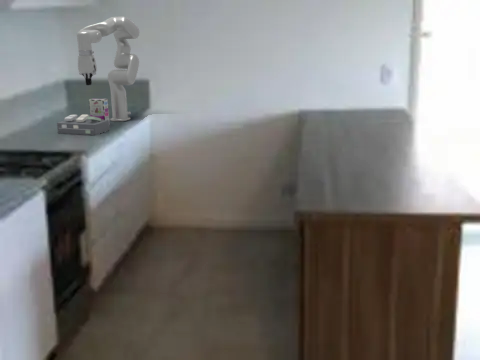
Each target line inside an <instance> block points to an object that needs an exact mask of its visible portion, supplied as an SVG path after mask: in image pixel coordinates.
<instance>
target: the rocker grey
mask: <svg viewBox="0 0 480 360" xmlns="http://www.w3.org/2000/svg"><path fill="white" fill-rule="evenodd" d="M78 117H79V116H78V114H70V115H68V116H65V117H64V120H63V121H72V120H74V119H77V118H78Z"/></svg>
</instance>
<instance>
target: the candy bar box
mask: <svg viewBox="0 0 480 360" xmlns="http://www.w3.org/2000/svg"><path fill="white" fill-rule="evenodd" d="M88 104H89V105H88V106H89V116H93V117H98V118H101V120H109V127H110V126H111V123H110V122H111V120H110V112H109V111H110V108H109V107H110V106H109V99H108V98H90V99H88Z"/></svg>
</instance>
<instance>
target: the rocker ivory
mask: <svg viewBox="0 0 480 360" xmlns="http://www.w3.org/2000/svg"><path fill="white" fill-rule="evenodd" d="M88 116H90V114H86V113H85V114H81V115H79V116H78V118H76V122H84V121H85V120H86V119H87V118H88ZM87 120H88V119H87Z"/></svg>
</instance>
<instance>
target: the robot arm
mask: <svg viewBox="0 0 480 360" xmlns="http://www.w3.org/2000/svg"><path fill="white" fill-rule="evenodd" d="M111 34H113V36H114V39H115V41H116V52H115V56H114V60H113V66H114V68H115V69H112V70H110V71H109V72H108V73H107V80H108V85H109V89H110V100H111V112H112V117H109V120H110V122H125V121H130V120H131V117H130V116H129V115H131V111H128V101H127V100H128V99H127V91H126V88H125V87H124V86H132V85H134V83H136V79H137V74H138V71H139V67H140V60H139V59H140V58H139V57H138V55H137V54H134V53H131V49H132V47H131V45H130V43H129V42H128V40H136V39H138V37H139V36H140V29H139V26H138V25H136V23H135V22H134V21H132V19H130V18H128V17H127V16H111V17H109V18H107V19H105V20H103V21H102V22H98V23H94V24H91V25H87V26H85V27H83V28H81V29H79V30H78V32H77V33H76V38H77V49H78V56H77V70H78V73H79V75H80V76H82V77H84V79H85V85H86V86H91V85H92V81H93V80H92V77H93V76H95V75H97V71H98V68H97V62H96V58H95V56H94V51H93V48H92V44H97V43H99V42H100V41H101V40H102V38H103V37H107V36H109V35H111Z"/></svg>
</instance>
